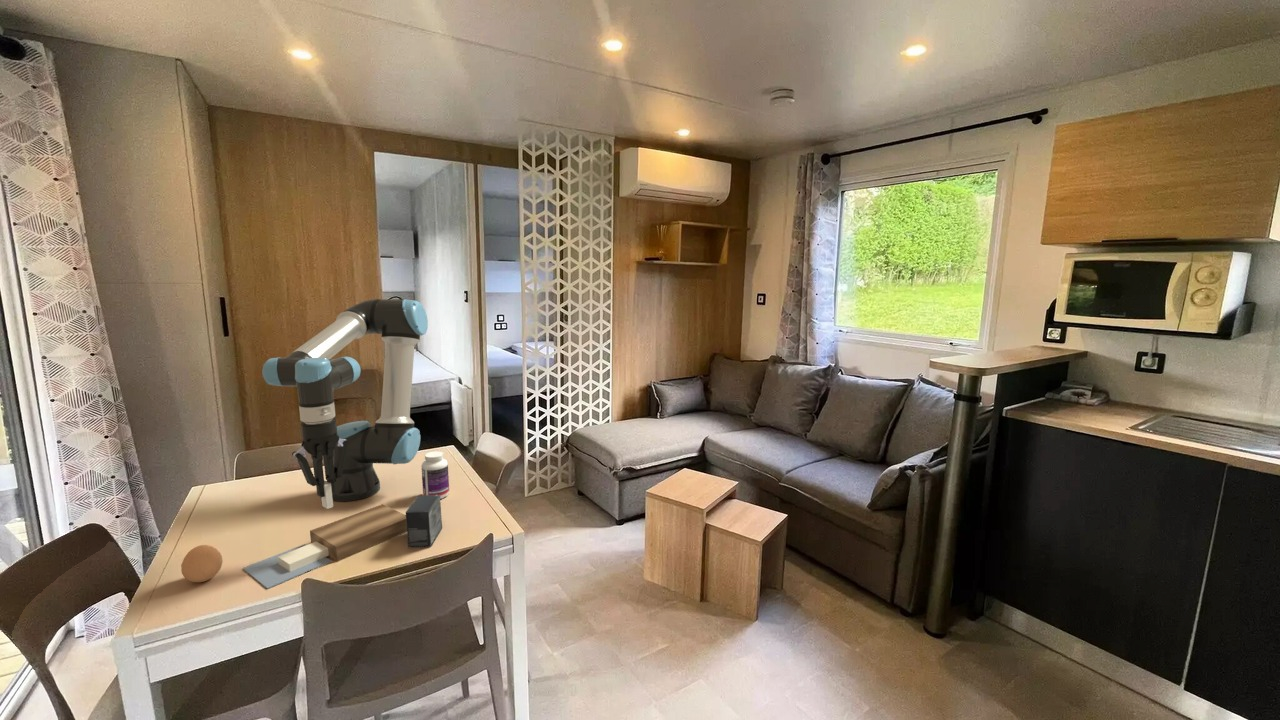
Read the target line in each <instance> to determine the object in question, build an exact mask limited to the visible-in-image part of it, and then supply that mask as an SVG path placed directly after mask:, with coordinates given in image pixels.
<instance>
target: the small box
mask: <svg viewBox="0 0 1280 720" xmlns="http://www.w3.org/2000/svg"><path fill="white" fill-rule="evenodd" d="M441 503H442V502H441V499H440V495H423V494H421V495H418V496H417V497H416V498H415V500H414V501H413V502H412V503H411V505H410V506H409V507H408V508H407V510H406V511H405V515H406V524H407V532H406V534H407V535H406V536H407V548H409V549H411V548H413V549H414V548H431V547H432V546H433V544H434V543H435V541H436V539H437V538H438V537H439V534H441V531H442V530H443V521H442V520H443V519H442V506H441V505H442V504H441Z"/></svg>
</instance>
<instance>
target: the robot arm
mask: <svg viewBox="0 0 1280 720" xmlns="http://www.w3.org/2000/svg"><path fill="white" fill-rule="evenodd" d="M427 315H428V314H427V311H426V309H425V308H424V305H423V304H422V303H421V302H420V301H417V300H414V299H413V300H411V299H406V298H405V299H396V298H395V299H380V298H371V299H368V300H363V301H361V302H359V303H356V304H353V305H351V306H349V307H348V308H346V309H344V310H343V311H341V312H340V313H339V314H338V315H337V316H336V319H335V321H334V322H332V323H331V324H330V325H328V326H327V327H326V328H324V329H322V330H321V331H320V332H319V333H317V334H316V335H314V336H313V337H312V338H310V339H309V340H307V341H305V343H303V344H302V345H301V346H299V347H298V348H296V349H295V350H294V351H292V352H290V354H288V355H287V356H285V357H280V356H279V357H271V358H269V359H267V360H266V361H265V362H264V364H263V366H262V369H261V371H262V377H263V380H264V381H265V383H266V384H267V385H269V386H274V387H275V386H276V387H284V388H285V387H296V390H297V397H298V398H297V399H298V408H299V409H298V410H299V420H300V422H301V424H300V427H301V435H302V442H301V447H300V448H298V450H297V451H292V453H291V456H292V457H294V459H295V460H297V463H298V465H299V467H300V469H301V472H302V474H303V476H304V479H305V481H306V483H307V484H308V485H310V486H312V487H315V488H316V495H317V497H320V500H321V505H322V507H323V508H324V509H327V510H328V509H332V508H334V501H335V502H353V501H358V500H363V499H366V498H368V497H371V496H373V495H375V494H377V493H378V492H379V491H380V490H381V481H380V479H379V476H378V475H377V474H378V473H377V472H376V470H375V468H374V464H387V465H389V464H390V465H400V464H401V465H405V464H409V463H410V462H411V461H413V460H414V458H415V457H416V455H417V454H418V451H419V449H420V448H419V447H420V445H421V434H420V433H421V432H420V429H418V428H417V427H415V421H414V420H413V419H412V418H411V400H412V387H413V385H412V384H413V374H414V373H413V372H414V371H413V370H414V357H415V354H414V353H415V346H416V345H417V344H419V342H420V340H421V338H420V337H421V336H423V335H426V333H427V330H428V326H429V323H428V322H429V321H428V316H427ZM377 334H378V335H381V337H380V338H381V340H382V341H383V342H384V343H385V355H384V370H383V381H382V382H383V383H382V394H381V395H382V397H381V409H380V410H381V411H380V416H379V418H378V419H377V420H376V421H375V423H374V427H373V426H372V424H371V422H370V421H367V420H358V421H352V422H348V423H343V424H341V425H338V424H337V419H336V418H335V417H336V407H335V406H336V405H335V398H334V391H337V390H338V389H341V388H344V387H347V386H349V385H351V384H352V383H354V382H356V381H357V380H358V379H359V378H360V376H361V369H362V368H361V366H360V364H359V362H358V361H357V360H356V359H355V358H353V357H350V356H339V357H336V358H333V357H335V356H336V355H337V354H338V353H340V352H341V351H342V350H343V349H344V348H346V346H348V345H349V344H350V343H351V342H353V341H354V340H358V339H361V338H363V337H364V336H366V335H367V336H368V335H377ZM337 425H338V426H337ZM371 426H372V427H371ZM306 452H307V453H308V454H309V455H310V456H311V460H312V467H313V471H312V469H311V466H310V464H309V461H308V459H307V458H306V457H307V454H306ZM323 465H324V466H323Z"/></svg>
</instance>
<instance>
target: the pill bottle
mask: <svg viewBox="0 0 1280 720" xmlns="http://www.w3.org/2000/svg"><path fill="white" fill-rule="evenodd" d="M420 467H421V481H422V495H440V500H442V499H444V498H446V497H447V496H448V495H449V494H450V479H449V464H448V460H447V459H445V458H444V452H443V451H430V452H427V453H425V455H424V461H423V462H422V463H421V466H420Z"/></svg>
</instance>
